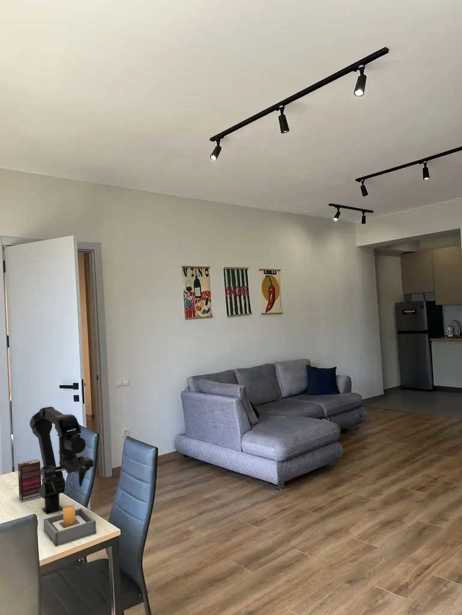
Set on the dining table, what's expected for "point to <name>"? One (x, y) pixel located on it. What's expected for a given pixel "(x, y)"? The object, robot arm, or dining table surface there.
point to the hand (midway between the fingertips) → (68, 489)
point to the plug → (69, 516)
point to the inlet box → (64, 535)
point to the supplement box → (29, 480)
